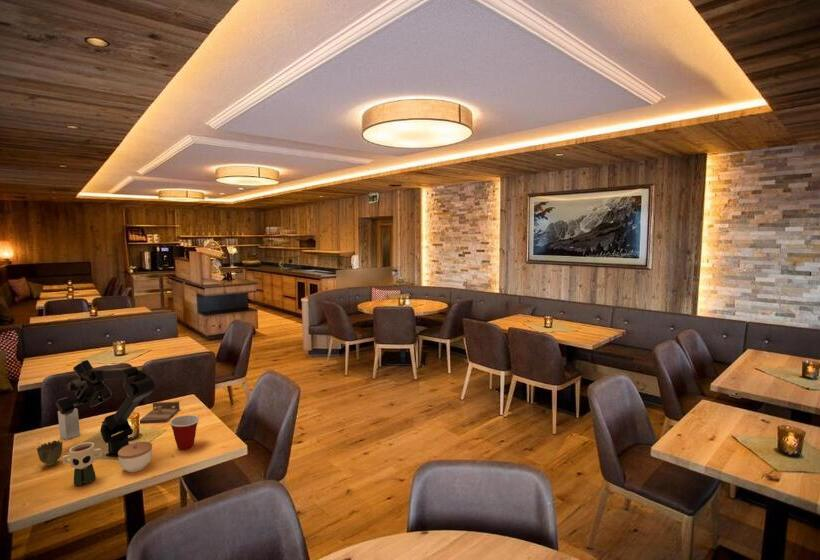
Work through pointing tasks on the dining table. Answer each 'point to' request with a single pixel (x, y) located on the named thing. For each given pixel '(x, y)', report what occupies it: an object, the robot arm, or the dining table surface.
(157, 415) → the brown flat stand
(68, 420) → the grey rectangular block
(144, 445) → the lidded jar
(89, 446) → the character mug
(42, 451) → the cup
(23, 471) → the dining table surface
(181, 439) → the plastic cup
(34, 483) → the dining table surface
